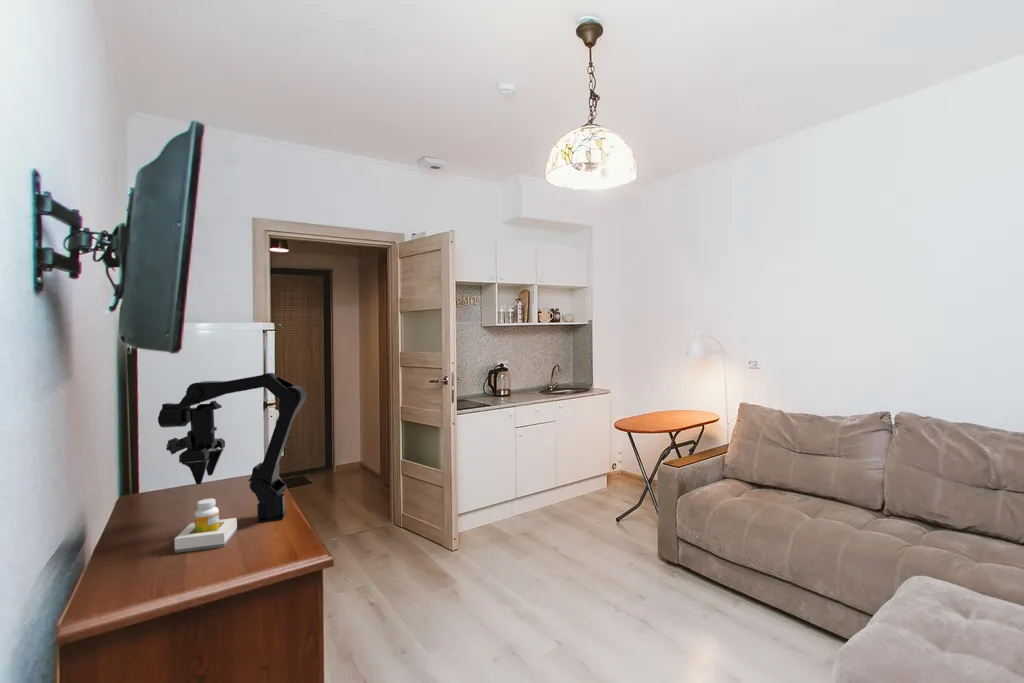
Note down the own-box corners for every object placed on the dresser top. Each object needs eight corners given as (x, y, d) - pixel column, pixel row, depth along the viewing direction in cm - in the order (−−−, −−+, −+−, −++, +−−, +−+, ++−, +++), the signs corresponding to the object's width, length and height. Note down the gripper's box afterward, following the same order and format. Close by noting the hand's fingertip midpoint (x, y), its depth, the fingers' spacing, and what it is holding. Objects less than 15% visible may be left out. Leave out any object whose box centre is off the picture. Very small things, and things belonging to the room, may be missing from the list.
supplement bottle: (190, 540, 126) (189, 502, 126) (211, 532, 131) (210, 496, 131) (203, 543, 124) (201, 505, 124) (224, 535, 129) (222, 499, 129)
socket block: (237, 530, 134) (236, 517, 134) (224, 546, 124) (224, 532, 124) (191, 535, 131) (191, 522, 131) (174, 553, 121) (174, 538, 121)
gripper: (183, 422, 147) (185, 473, 148) (155, 433, 129) (157, 492, 130) (224, 419, 150) (226, 470, 150) (203, 430, 132) (205, 487, 132)
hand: (204, 479), depth 141 cm, fingers open, 9 cm apart
